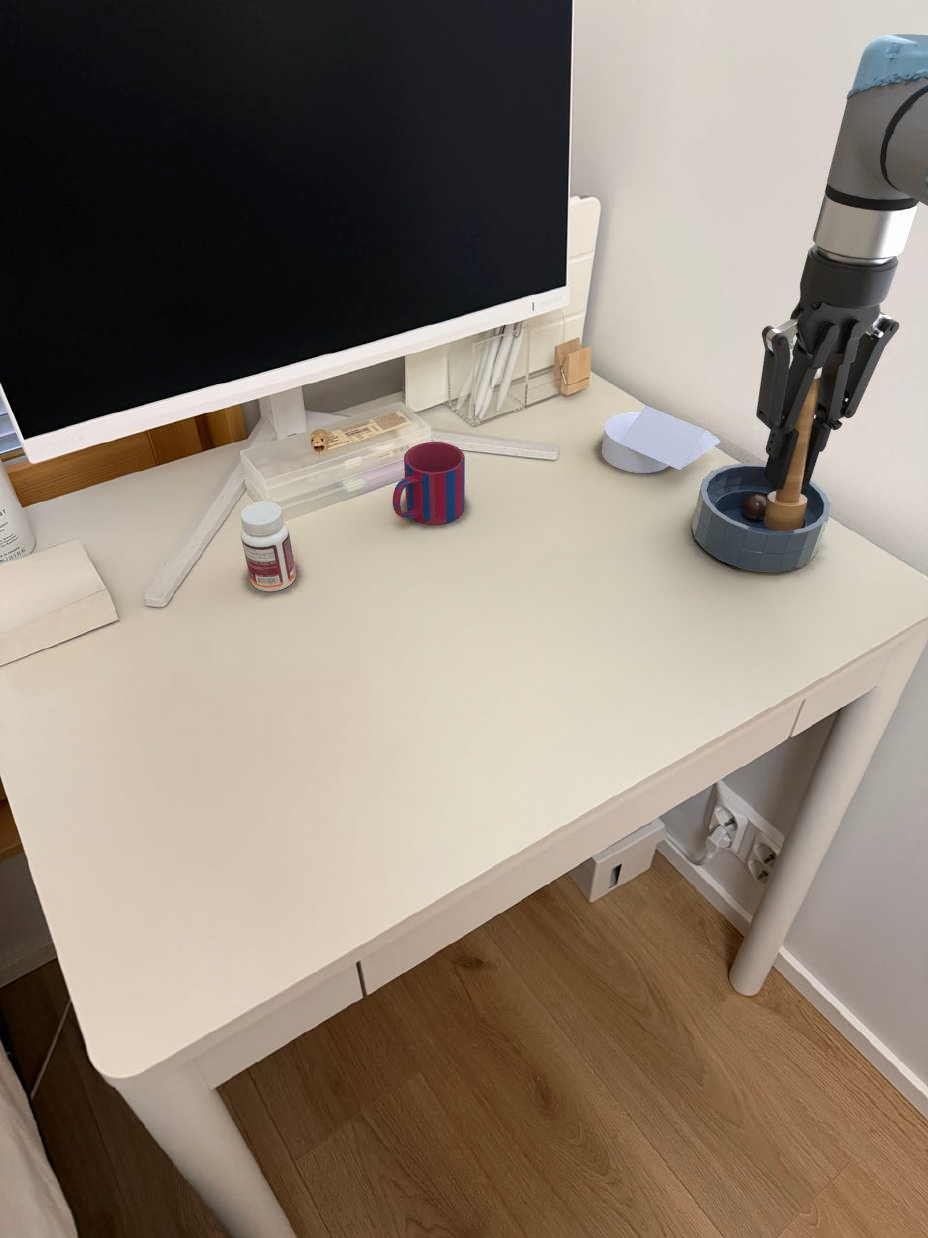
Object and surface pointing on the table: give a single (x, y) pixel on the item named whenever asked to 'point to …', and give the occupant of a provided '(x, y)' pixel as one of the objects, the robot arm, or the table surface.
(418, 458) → the mug
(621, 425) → the wedge on round base
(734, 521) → the bowl
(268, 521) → the pill bottle
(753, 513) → the bead
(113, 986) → the table surface
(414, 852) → the table surface
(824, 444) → the robot arm
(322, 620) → the table surface
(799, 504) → the muddler
